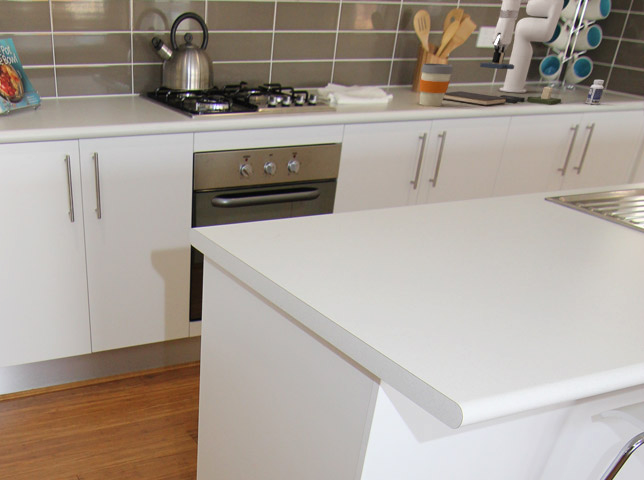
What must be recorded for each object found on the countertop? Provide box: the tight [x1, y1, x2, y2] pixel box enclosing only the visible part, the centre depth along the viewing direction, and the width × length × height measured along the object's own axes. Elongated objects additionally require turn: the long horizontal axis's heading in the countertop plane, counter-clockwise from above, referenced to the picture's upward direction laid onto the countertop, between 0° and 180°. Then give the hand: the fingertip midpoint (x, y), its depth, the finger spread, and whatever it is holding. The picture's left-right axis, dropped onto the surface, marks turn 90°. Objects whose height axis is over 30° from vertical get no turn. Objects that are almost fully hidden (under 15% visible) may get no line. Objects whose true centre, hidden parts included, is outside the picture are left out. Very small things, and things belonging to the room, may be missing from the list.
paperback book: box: [443, 90, 507, 107], centre depth 321 cm, size 16×23×2 cm
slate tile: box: [479, 53, 514, 70], centre depth 327 cm, size 12×13×6 cm
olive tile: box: [526, 86, 562, 106], centre depth 328 cm, size 12×13×6 cm
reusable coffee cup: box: [419, 62, 454, 107], centre depth 305 cm, size 13×13×15 cm
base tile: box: [497, 94, 526, 104], centre depth 328 cm, size 12×10×2 cm
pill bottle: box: [585, 79, 605, 106], centre depth 327 cm, size 5×5×10 cm
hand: (497, 62), depth 328 cm, fingers closed on slate tile, 3 cm apart
